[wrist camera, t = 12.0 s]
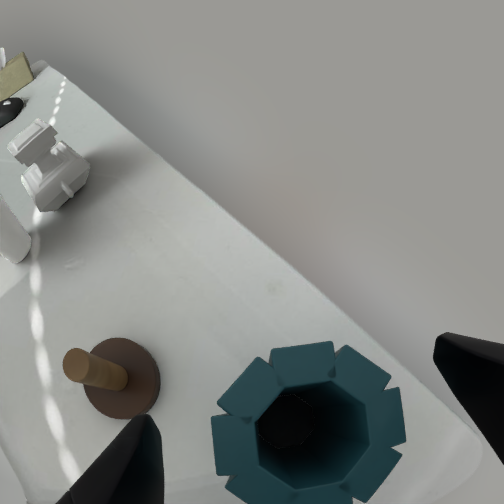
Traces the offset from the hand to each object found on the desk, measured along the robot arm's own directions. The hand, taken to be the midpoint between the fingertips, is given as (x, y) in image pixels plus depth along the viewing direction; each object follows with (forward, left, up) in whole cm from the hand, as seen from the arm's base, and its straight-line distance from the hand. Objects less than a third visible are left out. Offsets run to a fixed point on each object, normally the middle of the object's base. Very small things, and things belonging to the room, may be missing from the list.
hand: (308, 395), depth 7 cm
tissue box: (+80, +36, -11) cm, 88 cm away
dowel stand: (+5, +9, -11) cm, 15 cm away
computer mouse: (+60, +31, -11) cm, 68 cm away
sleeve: (-1, 0, -11) cm, 11 cm away
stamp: (+26, +12, -11) cm, 30 cm away
